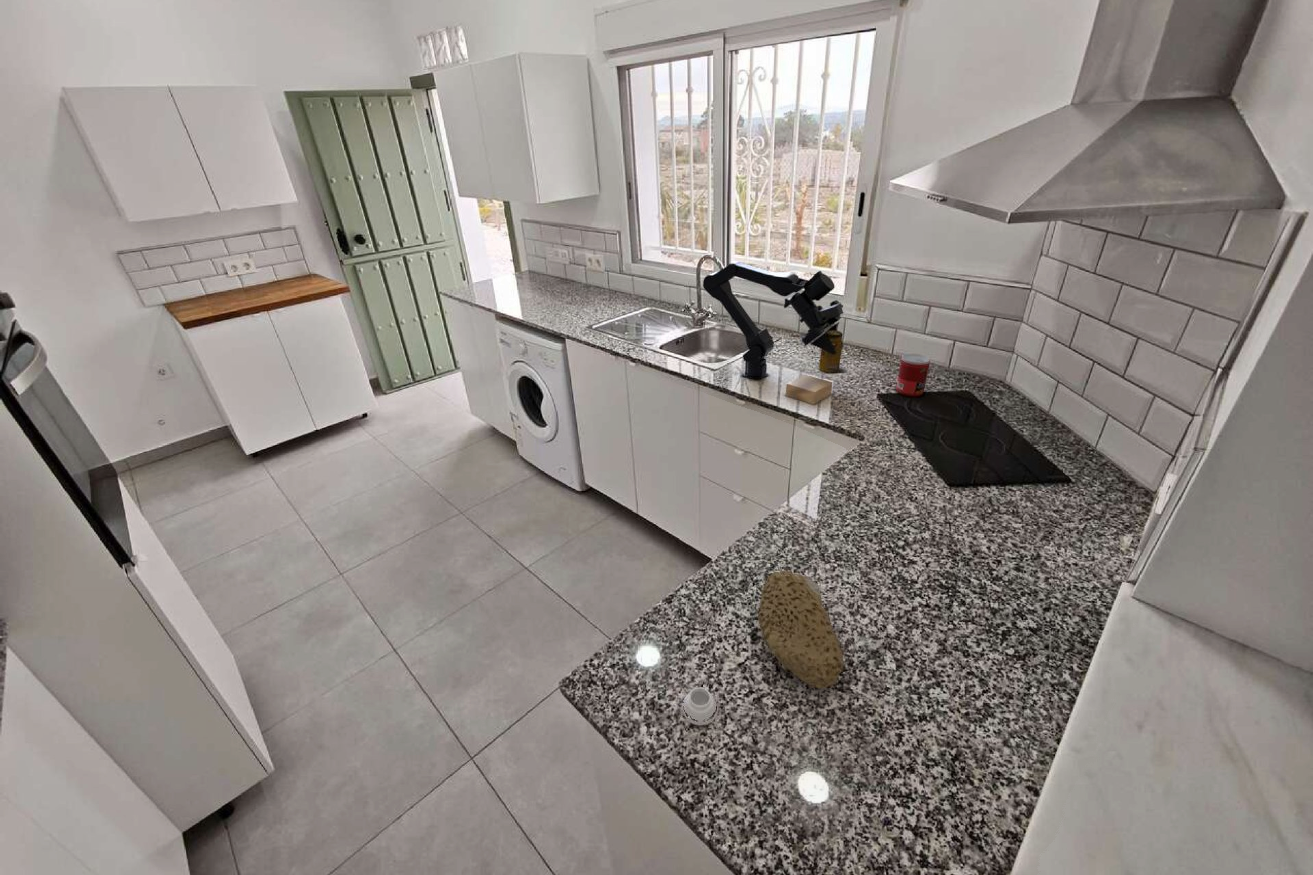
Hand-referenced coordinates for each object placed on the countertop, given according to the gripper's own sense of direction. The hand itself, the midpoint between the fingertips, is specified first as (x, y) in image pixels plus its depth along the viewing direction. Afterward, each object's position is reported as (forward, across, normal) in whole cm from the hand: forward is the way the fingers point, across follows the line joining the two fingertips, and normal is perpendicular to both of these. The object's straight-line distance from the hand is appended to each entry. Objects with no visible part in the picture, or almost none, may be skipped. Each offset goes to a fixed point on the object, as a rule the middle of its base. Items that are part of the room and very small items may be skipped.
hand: (838, 350), depth 163 cm
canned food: (+24, +11, -5) cm, 27 cm away
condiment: (+4, 0, +6) cm, 7 cm away
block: (+6, -6, +14) cm, 16 cm away
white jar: (+24, -117, -5) cm, 119 cm away
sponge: (+28, -98, -10) cm, 102 cm away
